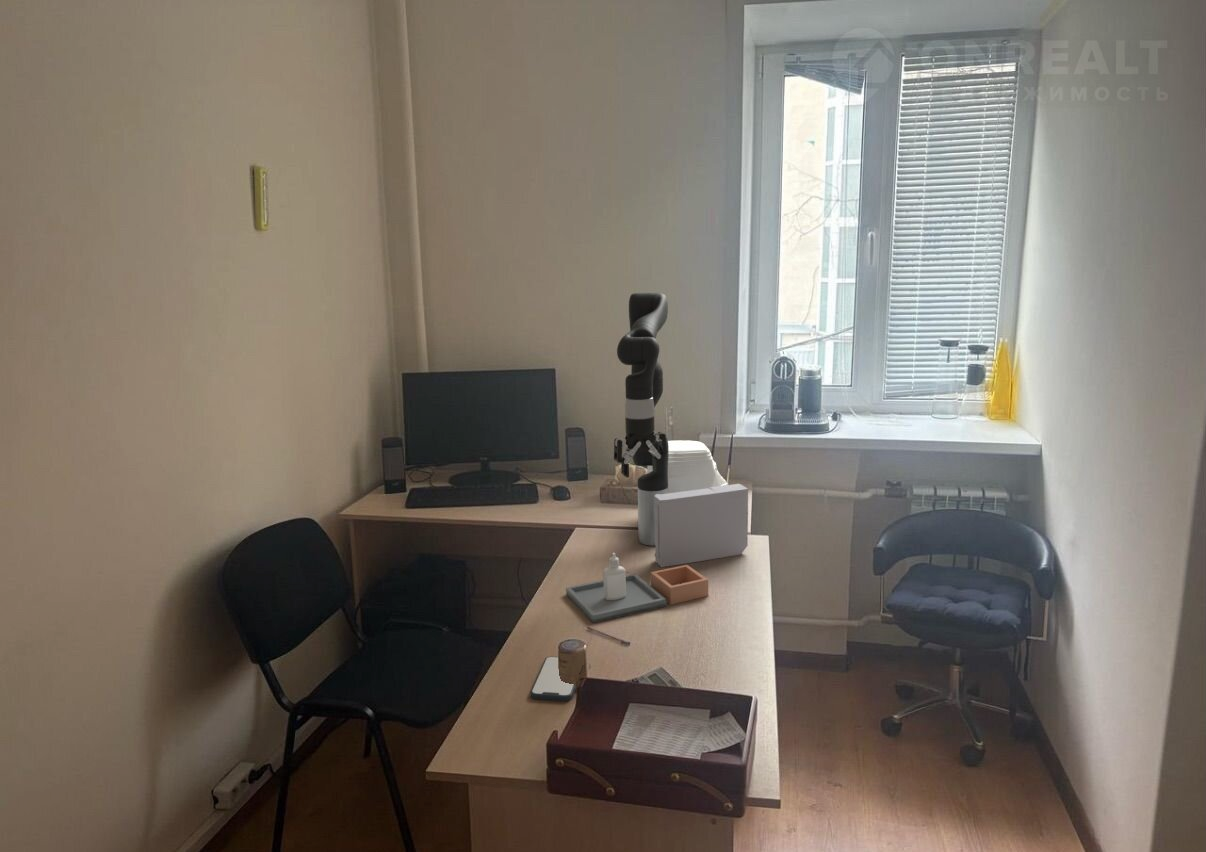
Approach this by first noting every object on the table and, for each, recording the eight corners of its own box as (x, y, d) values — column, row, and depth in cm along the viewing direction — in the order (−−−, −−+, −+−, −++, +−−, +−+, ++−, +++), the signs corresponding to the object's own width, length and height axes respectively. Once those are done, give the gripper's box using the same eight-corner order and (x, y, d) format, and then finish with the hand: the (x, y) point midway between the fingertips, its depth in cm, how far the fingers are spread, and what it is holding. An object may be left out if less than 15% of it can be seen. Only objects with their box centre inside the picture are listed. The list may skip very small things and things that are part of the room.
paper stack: (648, 511, 271) (646, 438, 266) (727, 510, 269) (728, 437, 263) (646, 533, 251) (645, 454, 245) (733, 532, 249) (733, 453, 243)
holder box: (650, 588, 210) (650, 572, 209) (687, 580, 215) (687, 564, 214) (670, 604, 201) (670, 587, 200) (708, 595, 205) (708, 579, 204)
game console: (653, 560, 229) (652, 494, 225) (738, 547, 237) (738, 483, 233) (660, 567, 224) (659, 500, 219) (747, 554, 232) (748, 488, 227)
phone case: (546, 662, 176) (528, 701, 160) (545, 655, 176) (528, 694, 160) (585, 664, 175) (571, 704, 159) (585, 657, 174) (571, 696, 159)
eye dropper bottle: (625, 601, 201) (624, 556, 199) (603, 600, 202) (601, 556, 199) (626, 593, 205) (625, 550, 203) (605, 593, 206) (603, 550, 203)
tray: (566, 594, 208) (566, 587, 208) (635, 580, 216) (634, 573, 215) (593, 623, 192) (592, 615, 191) (666, 606, 200) (666, 599, 199)
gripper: (657, 408, 211) (658, 466, 215) (608, 414, 205) (610, 474, 209) (671, 413, 204) (671, 474, 208) (620, 420, 199) (622, 482, 203)
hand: (640, 474), depth 209 cm, fingers open, 8 cm apart
